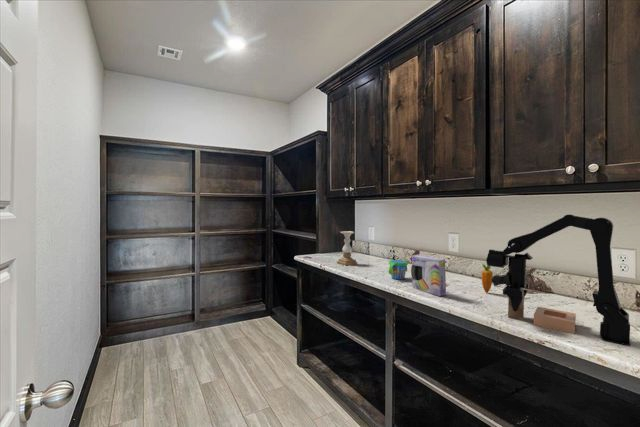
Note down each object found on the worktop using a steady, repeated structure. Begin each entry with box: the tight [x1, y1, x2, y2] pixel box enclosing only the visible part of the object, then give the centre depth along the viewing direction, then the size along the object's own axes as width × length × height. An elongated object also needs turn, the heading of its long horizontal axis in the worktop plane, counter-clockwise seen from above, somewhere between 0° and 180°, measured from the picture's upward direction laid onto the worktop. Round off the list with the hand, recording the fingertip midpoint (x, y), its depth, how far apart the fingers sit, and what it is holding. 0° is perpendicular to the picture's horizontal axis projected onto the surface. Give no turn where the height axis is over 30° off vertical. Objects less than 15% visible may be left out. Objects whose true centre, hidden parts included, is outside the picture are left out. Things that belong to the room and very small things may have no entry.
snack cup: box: [388, 259, 409, 280], centre depth 183 cm, size 16×10×10 cm
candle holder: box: [336, 230, 358, 267], centre depth 227 cm, size 11×11×24 cm
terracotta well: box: [533, 306, 577, 334], centre depth 113 cm, size 12×12×4 cm
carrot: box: [481, 263, 494, 294], centre depth 154 cm, size 5×5×15 cm
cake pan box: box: [410, 254, 447, 297], centre depth 156 cm, size 19×5×18 cm, turn 27°
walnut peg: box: [507, 297, 525, 321], centre depth 120 cm, size 4×4×10 cm
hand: (516, 309), depth 120 cm, fingers closed on walnut peg, 4 cm apart
